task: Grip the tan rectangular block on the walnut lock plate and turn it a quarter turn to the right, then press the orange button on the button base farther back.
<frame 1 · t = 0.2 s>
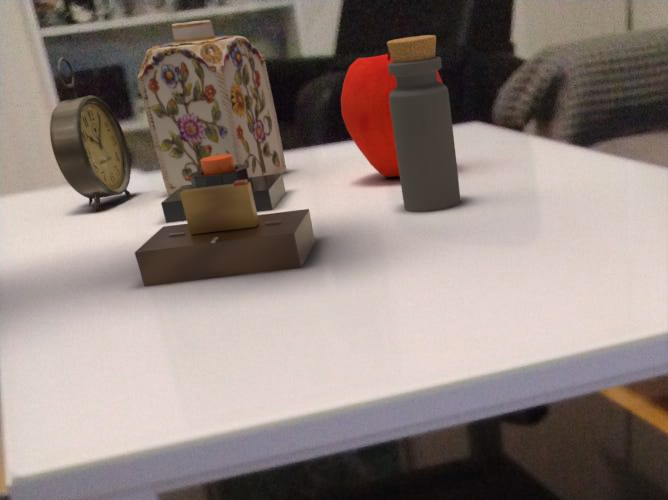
decorative jar: (229, 186, 130), on the table
bottle: (433, 208, 105), on the table
alarm clock: (106, 206, 128), on the table
apple: (403, 179, 121), on the table
lock plate: (233, 263, 93), on the table
tan rectangular block: (219, 206, 90), point 5 cm above the table, hinge at 0.0°
button base: (228, 208, 117), on the table
bell button: (218, 165, 114), point 4 cm above the table, slide at 0.1 cm
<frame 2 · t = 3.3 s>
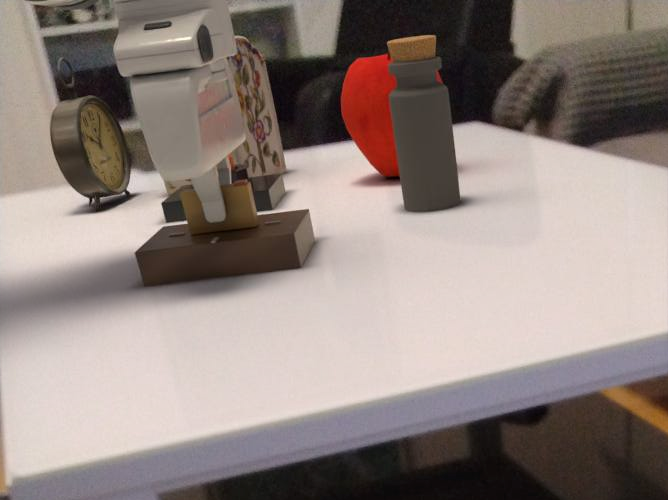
hand: (221, 216, 91), 4 cm above the table, tool pointing down, fingers closed on tan rectangular block, 2 cm apart
tan rectangular block: (219, 206, 90), point 5 cm above the table, hinge at 0.0°, touching gripper
everything else where it was.
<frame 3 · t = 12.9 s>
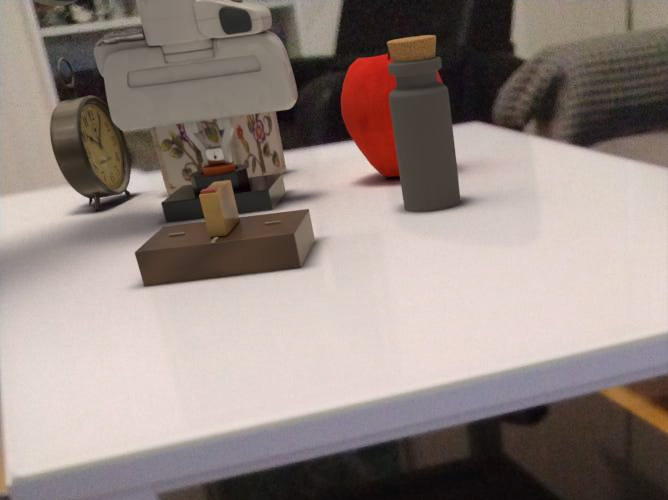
hand: (219, 164, 114), 5 cm above the table, tool pointing down, fingers closed, pressing on bell button
tan rectangular block: (219, 206, 90), point 5 cm above the table, hinge at -90.2°
bell button: (220, 173, 115), point 4 cm above the table, slide at -0.7 cm, touching gripper
everything else where it was.
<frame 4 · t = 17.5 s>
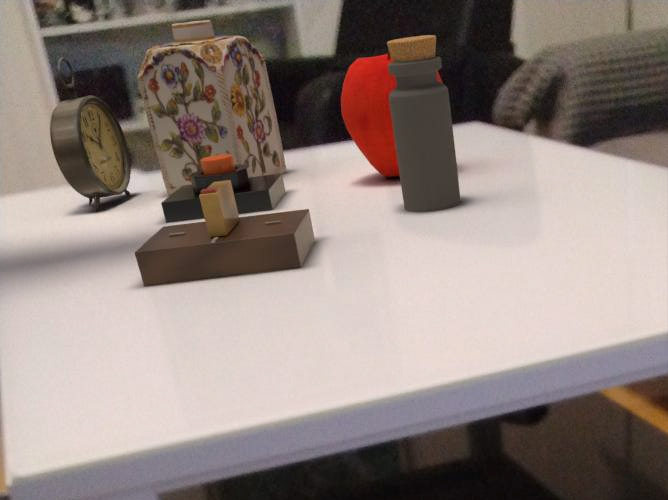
bell button: (218, 165, 114), point 4 cm above the table, slide at 0.1 cm
everything else where it was.
at the end: tan rectangular block at -90° (first picture: +0°); bell button pushed in 1.0 cm at the most during the clip, back to where it started at the end; bell button slide at 0.1 cm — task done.
